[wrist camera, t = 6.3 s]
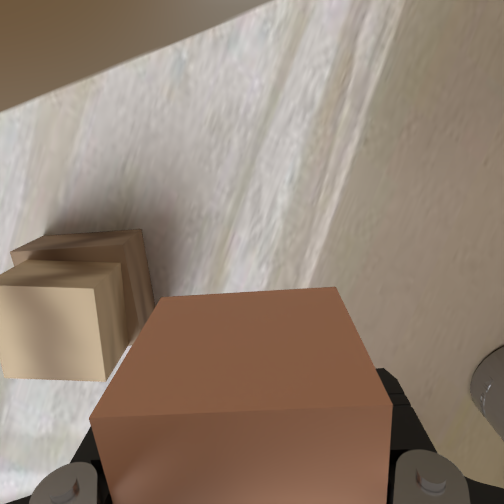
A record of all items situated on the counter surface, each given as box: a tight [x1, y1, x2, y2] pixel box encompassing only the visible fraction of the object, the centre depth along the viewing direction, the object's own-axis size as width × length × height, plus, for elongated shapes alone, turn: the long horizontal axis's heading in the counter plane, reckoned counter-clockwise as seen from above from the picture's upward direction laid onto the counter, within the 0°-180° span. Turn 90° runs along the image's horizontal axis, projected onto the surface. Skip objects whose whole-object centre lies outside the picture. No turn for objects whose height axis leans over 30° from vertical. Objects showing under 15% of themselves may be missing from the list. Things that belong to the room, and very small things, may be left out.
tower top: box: [0, 260, 129, 382], centre depth 25 cm, size 7×7×4 cm
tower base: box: [10, 229, 155, 346], centre depth 29 cm, size 8×8×4 cm
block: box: [89, 287, 393, 504], centre depth 10 cm, size 6×6×5 cm
